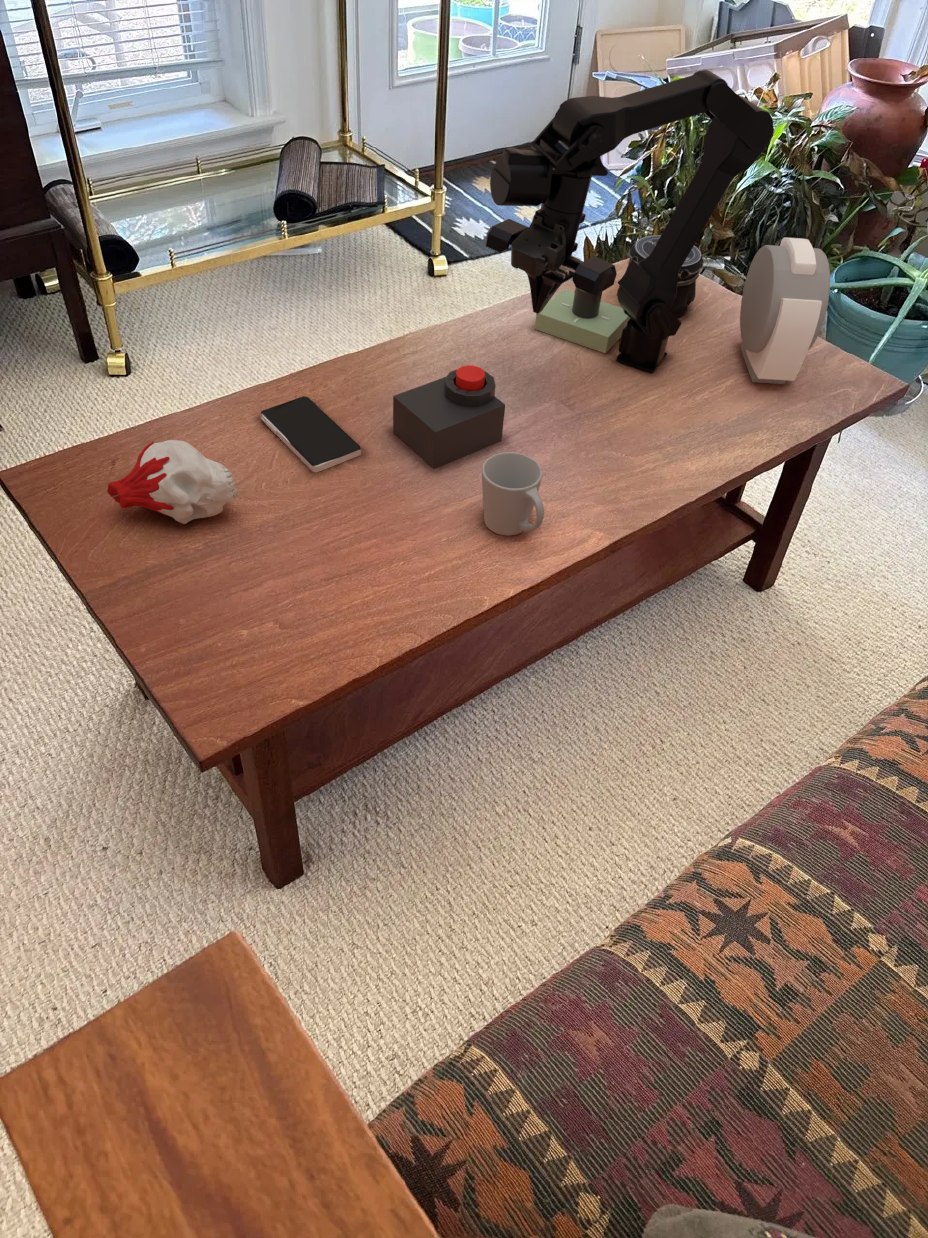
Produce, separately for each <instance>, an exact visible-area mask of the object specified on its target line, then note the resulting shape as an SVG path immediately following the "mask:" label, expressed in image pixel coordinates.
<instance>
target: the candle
mask: <svg viewBox="0 0 928 1238" xmlns="http://www.w3.org/2000/svg"><path fill="white" fill-rule="evenodd" d="M232 476H233V472H231V471H230V469H229V468H226V466H225V465H223V464H222V463H221V462H217V461H215V460H212V459H210V458H208V457H205V456H204V455H203V454H202V453H201V452H200V451H199V450H198V449H197V448H195V447H194V446H193V445H192V444H191V443H189V442H187V441H184V440H178V439H168V440H165V441H160V442H154V440H153V441H151V442H150V443H148V444H146V445H145V446H144V448H143V449H142V450H141V452H140V453H139V455H137V460H136V462H135V464H134V466H133V468H132V470H131V471H129V473H128V474H127V475H126V476H124V477H123V478H120V479H117V480H114V481H109V482H108V483H107V490H106V493H107V494H108V495H109V496H110V497H111V498H112V499H113V500H114V501H115V502H116V503H118V504H119V506H120V508H121V509H129V508H133V507H142V508H146V509H147V510H151V511H153V512H156V513H158V514H161V515H164V516H168V517H171V518H172V519H174V520H175V522H178V523H180V524H182V525H186V524H187V523H189V522H191V521H193V520H198V519H206V518H210V517H214V516H217V515H219V514H220V513H223V510H224V509H223V508H224V506H225V505H227V504H232V503H233V502H234V501H235V499H237V498H238V497H239V496H240V494H239V489H237V483H236V482H234V481H235V479H234V478H233V477H232Z"/></svg>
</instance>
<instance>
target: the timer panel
mask: <svg viewBox="0 0 928 1238" xmlns="http://www.w3.org/2000/svg"><path fill="white" fill-rule="evenodd" d="M574 294H575V291H572V290H569V289H566V288H562V289H561V290H560V291H559V292H558V293H557V294H556V295H554V296H553V297H551V299H550V300H549V302H548V303H547V304H546V306H545V307H544V309H543V310H542V311H541V312H540V313H539V314H537V313H535V314H536V315H535V324H534V330H536V331H539V332H542V333H545V334H548V335H551V336H553V337H557V338H559V339H562V340H565V341H568V342H571V343H574V344H576V345H579V346H583V347H586V348H588V349H591V350H594V351H597V352H599V353H603V354H607V352H608V351H610V349H611V348H612V347H613V346H614V345H615V344H616V343H617V342H618V341H620V340H621V335H622V330H623V328H624V327H625V326H626V325H627V322H628V321H629V320H630V317H629V316H628V315H626V314H625V313H624V311H623V307H622V306H617V305H615V304H611V303H608V302H605V301H602V300H601V302H600V308H599V313H598V315H597V316H596V317H594V318H581V317H578V316H576V315H575V314H574V313H573V312H572V307H573V300H574Z"/></svg>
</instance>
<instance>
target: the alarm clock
mask: <svg viewBox="0 0 928 1238" xmlns="http://www.w3.org/2000/svg"><path fill="white" fill-rule="evenodd" d="M828 260H829V259H828V257H827V255H826V253H825V252H824V251H823V250H822V249H821V248H816V247H813V245H812V243H811V242H810V240H809V239H808V238H801V237H800V238H798V237H783V238H782V239H781V241H780V244H779V245H771V244H765V245H763V246H762V247H760V248H759V249H758V251H756V252H755V255H754V257H753V259H752V260H751V263H750V266H749V268H748V271H747V274H746V277H745V281H744V285H743V289H742V295H741V301H740V302H741V303H740V310H739V331H740V338H741V343H740V350H741V352H742V357H743V359H744V362H745V366H746V368H747V371H748V374H749V378H750V380H751V383H760V384H776V385H786V382H787V381H789V382H790V381H792V382H793V381H794V382H795V381H796V379H797V377H798V374H799V372H800V370H801V368H802V366H803V364H804V362H805V359H806V357H807V354H808V352H809V350H811V348H812V347H813V346H814V344H815V342H816V341H817V339H818V337H819V336H820V333H821V331H822V327H823V324H824V322H825V318H826V314H827V309H828V304H829V301H830V300H829V298H830V290H831V269H830V263H829V261H828Z"/></svg>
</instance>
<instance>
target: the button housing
mask: <svg viewBox="0 0 928 1238" xmlns="http://www.w3.org/2000/svg"><path fill="white" fill-rule="evenodd" d="M457 370H458V368H457V369H455V370H454V369H453V370H452V371H449V373H447V375H446V376H444V377H442V378H439V379H436V380H433V381H430V382H428V383H425V384H422V385H419V386H417V387H414V388H411V389H408V390H405V391H403V392H400V393H397V394H395V395H392V400H393V401H392V433H393V434H394V435H395V436H396V437H397V438H398V439H399V440H400V441H401V442H403V443H404V444H405V445H406V446H407V447H408V448H410V450H411V451H413V452H414V453H415V454H416V455H417V456H418V457H419V458H421V459H422V460H423V461H424V462H425V463H426V464H427V465H428V466H430V467H431V469H433V470H435V469H437V468H441V467H444V466H445V465H447V464H450V463H452V462H455V461H457V460H459V459H462V458H464V457H467V456H469V455H471V454H474V453H476V452H478V451H481V450H483V449H486V448H488V447H490V446H491V447H492V446H493V445H495V444H498V443H499V442H502V439H503V429H504V422H505V411H506V404H505V403H504V402H503V401H502V400H500V399H499V398H498V397H497V396H496V381H495V377H494V376H493V375H491V374H490V373H489V372H487V371H486V370H484V372H485V383H484V387H483V388H482V389H480V390H477V391H466V390H463V389H460V388H458V387H457V386H456V371H457Z"/></svg>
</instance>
